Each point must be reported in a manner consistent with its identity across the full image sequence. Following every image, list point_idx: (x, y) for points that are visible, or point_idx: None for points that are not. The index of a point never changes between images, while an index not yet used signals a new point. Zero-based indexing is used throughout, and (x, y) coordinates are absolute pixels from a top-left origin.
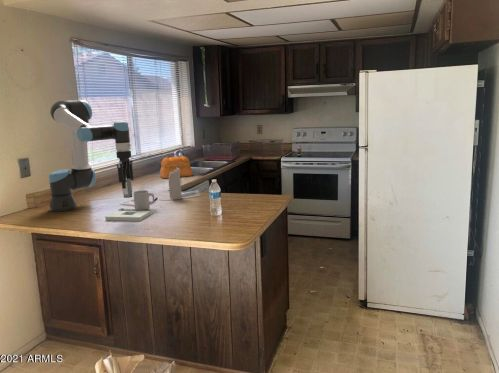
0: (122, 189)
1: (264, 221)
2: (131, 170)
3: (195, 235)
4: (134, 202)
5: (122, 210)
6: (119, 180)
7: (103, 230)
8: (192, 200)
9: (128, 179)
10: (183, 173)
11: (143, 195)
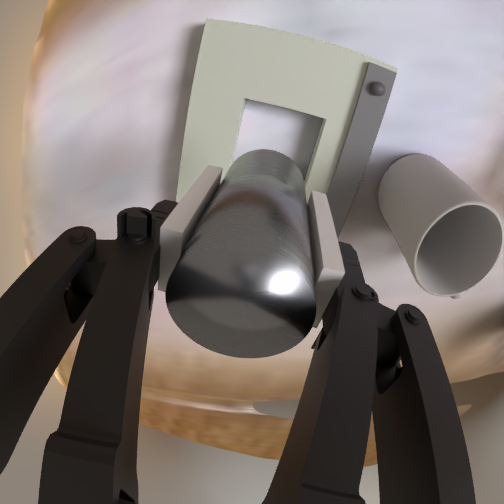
0: (192, 186)
1: (185, 438)
2: (378, 460)
3: (74, 353)
4: (425, 173)
5: (360, 89)
6: (59, 245)
7: (51, 98)
8: (465, 356)
9: (191, 338)
10: None
11: (408, 263)
